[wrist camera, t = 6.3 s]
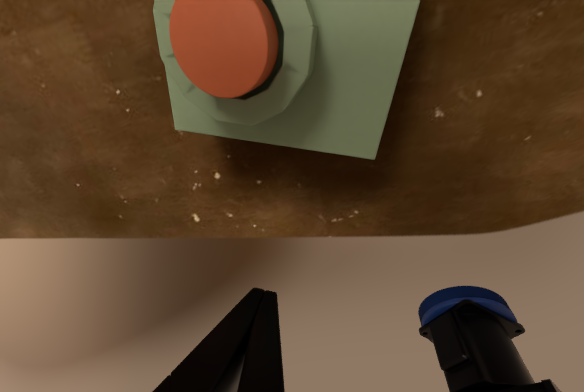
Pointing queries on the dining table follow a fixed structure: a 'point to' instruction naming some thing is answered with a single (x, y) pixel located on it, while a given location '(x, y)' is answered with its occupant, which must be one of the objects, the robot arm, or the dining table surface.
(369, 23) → the push button box
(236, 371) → the robot arm
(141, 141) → the dining table surface
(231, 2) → the lid button
